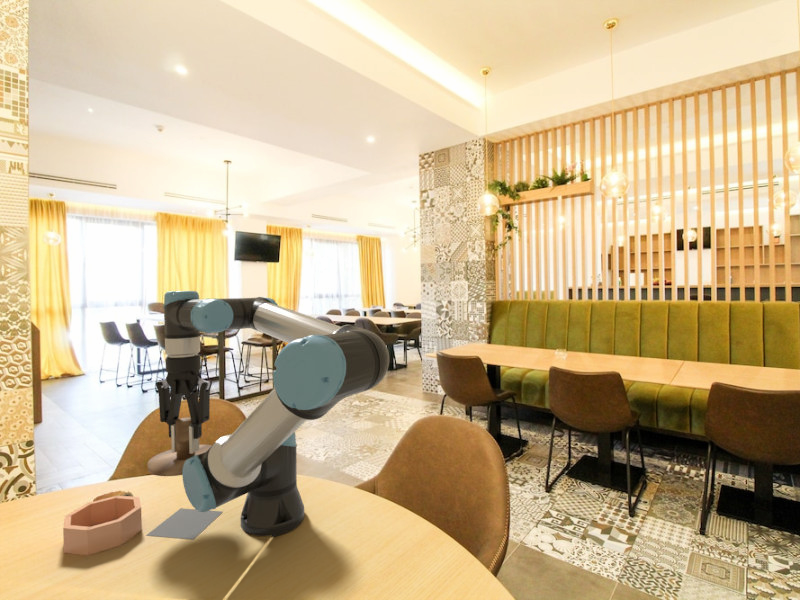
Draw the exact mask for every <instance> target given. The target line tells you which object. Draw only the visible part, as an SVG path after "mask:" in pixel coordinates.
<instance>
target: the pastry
mask: <svg viewBox="0 0 800 600" xmlns="http://www.w3.org/2000/svg"><path fill="white" fill-rule="evenodd" d="M114 496H131V497H134V494H133V493H132V492H130V491H122V490H115V491H111V492H108V493H103V494H102V495H99V496H96V497H95V498H94V499H93V500H92V502H94V501H98V500H102V499H106V498H110V497H114Z"/></svg>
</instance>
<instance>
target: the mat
mask: <svg viewBox="0 0 800 600" xmlns="http://www.w3.org/2000/svg"><path fill="white" fill-rule="evenodd" d="M223 513H224V511H222V510H221V511H220V510H209V511H207V512H199V511H197V510H196V509H195V508H193V509H192V508H182V507H181V508H179V509H178V510H177V511H175V512H174V513H173V514H172V515H170V516H168V517H167V518H166V519H165V520H164V521H162V522H161V523H160V524H159V525H157V526H156V527H155V528H154V529H152V530H151V531H150V532H148V533H146V536H148V537H158V538H159V537H160V538H171V539H182V540H195V539H196V538H197V537H198V536H199V535H200V534H201V533H202V532H203V531H204V530H206V529H207V528H208V527H209V526H210V525H211V524H212V523H214V521H215V520H216V519H217V518H218V517H220V515H221V514H223Z"/></svg>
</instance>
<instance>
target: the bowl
mask: <svg viewBox="0 0 800 600" xmlns="http://www.w3.org/2000/svg"><path fill="white" fill-rule="evenodd" d="M142 518H143V517H142V504H141V500H140V497H139V496H133V497H131V496H114V497H110V498H106V499H102V500H98V501H94V502H93V501H90V502H87V503H86V504H84V505H82V506H80V507H78V508H77V509H74V510H73V511H71V512H70V513H68V514H66V515H64V518H63V519H64V521H63V526H62V527H63V530H62V531H63V532H62V533H63V535H62V536H63V554H70V555H71V554H72V555H81V556H82V555H83V556H91V555H93V554H97V553H101V552H104V551H106V550H107V551H108V550H111V549H113V548H117V547H119V546H122V545H124V544H125V543H126V542H127V541H129V540H130V539H131V538H133V537H134V536H136V535H137V534H138V533H140V531H142V530H143V527H142V526H143V524H142V523H143V522H142V521H143V520H142Z"/></svg>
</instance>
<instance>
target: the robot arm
mask: <svg viewBox="0 0 800 600" xmlns="http://www.w3.org/2000/svg"><path fill="white" fill-rule="evenodd" d="M163 296H164V297H163V299H164V303H163V307H162V309H163V317H164V318H163V320H164V321H163V322H164V354H165V355H166V358H165V371H166V374H167V375H166V377H165V379H162V380H159V381H156V382H155V386H156V389H157V391H158V403H159V404H158V406H159V407H158V408H159V421H160V422H161V423H166V424H167V427H168V437H169V438H170V439H171V449H172V453H175V452H176V420H178V419H180V418H179V417H180V412H181V407H182V406H181V405H182V399H183V395H184V398H185V399H186V402H187V406H188V412H189V417H191V422H192V424H191V425H190V426H189V453H190V454H193V453H194V452H196V451H198V450H199V445H200V438H201V437H202V435H203V432H202V430H203V427H202V425H203V424H205V422H208V421H209V420H210V414H211V413H210V409H211V408H210V407H211V405H210V404H211V403H210V402H211V401H210V400H211V399H210V398H211V396H210V395H211V394H210V393H211V388H212V386H213V385H212V384H213V382H212V380H205V379H204V378H202V375H201V372H200V371H201V367H202V366H201V365H202V363H201V354H199V353H200V352H201V333H206V334H217V333H221V332H224V331H231V330H243V329H252V330H254V331H257V332H260V333H262V334H265V335H268V336H270V337H272V338H274V339H276V340H279V341H282V342H284V343H287V344H286V345H285V346H284V347H283V348H282V349H281V350H280V352H279V353H278V355H277V356H276V359H275V360H274V361H275V362H274V367H275V368H276V369H275V370H273V371H272V381H273V389H272V390H271V391H270V392H269V394H268V395H267V396H266V397H264V399H263V400H262V401H261V402H260V403H259V404H258V405H257V406H256V408H255V409H254V410H253V411H252V412H251V413H250V414H249V415H248V416H247V417H246V418H245V420H244V421H243V422H242V423H241V424H240V425H239V426H238V427H237V428H236V430H235V431H233V433H232V434H231V433H230V434H226V435H224V436H221V437H219V438H218V439H216V441H214V442H213V444H211V445H212V446H211V447H210V448H209V449H208V450H207V451H206V452H204V453H202V454H199V455H194V456H193V457H191V458H188V459H187V460H186V461H185V463H184V465H183V470H182V475H181V476H182V482H183V483H182V485H183V489H184V490H185V491H184V492H185V494H186V497H187V500H188V502H189V503H190V504H191V506H192V507H193V509H196V510H197V511H199V512H207V511H213V510H217V508H218V507H220V506H223V505H224V504H227V503H229V502H231V501H234V500H235V499H238V498H240V497H242V496H245V494H246V498H245V502H244V504H243V507H242V511H241V513H240V527H241V529H242V530H243V532H245V533H247V534H248V535H253V536H258V537H268V536H270V538H271V537H277V536H282V535H284V534H286V533H289V532H291V531H293V530H294V529H296V528H297V527H298V526H299V525H301V523H303V521H304V518H305V504H304V503H303V499H302V496H301V494H300V491H299V488H298V486H297V485H298V483H297V482H298V480H297V477H298V476H297V447H298V444H297V438H296V431H298V429H299V428H300V427H301V426H302V425H303V424H305V423H306V421H316V420H319V419H321V418H322V417H324V416H325V415H327V413H328V412H330V410H332V409H333V408H334V407H335V406H336V405H337V404H338V403H339V402H340V401H342V400H343V399H345V398H348V397H350V396H354V395H356V394H357V395H358V394H360V393H363V392H366V391H369V390H371V389H373V388H375V387H376V386H378V385H379V384H380V383H382V380H384V378H385V376H386V374H387V372H388V369H389V366H390V353H389V349H388V347H387V345H386V343H385V341H384V340H383V339H382V338H381V337H380V336H379V335H378V334H377V333H375V332H373V331H370V330H367V329H365V328H363V327H358V326H356V325H353V324H345V325H342V326H340V325H337V324H334V323H331V322H328V321H325V320H322V319H319V318H316V317H314V316H311V315H308V314H307V315H306V314H304V313H302V312H299V311H296V310H293V309H290V308H286V307H283V306H281V305H279V304H278V303H277V302H276V300H275V299H273V298H270V297H263V296H257V297H240V298H238V297H236V298H200V295H199V293H198V291H195V290H177V291H176V290H175V291H174V290H171V291H170V290H169V291H166V293H164V295H163ZM198 389H199V390H198Z"/></svg>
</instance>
